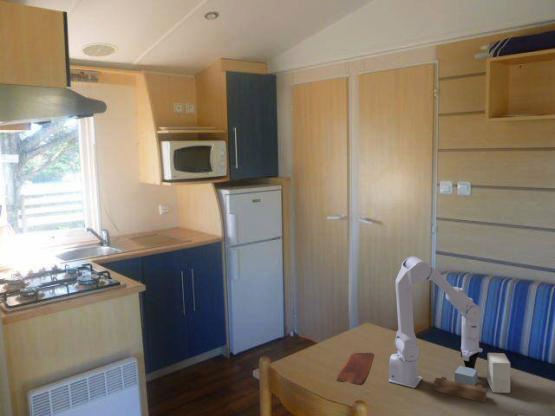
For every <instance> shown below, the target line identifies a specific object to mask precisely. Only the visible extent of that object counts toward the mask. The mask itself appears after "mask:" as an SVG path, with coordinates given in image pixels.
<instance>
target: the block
mask: <svg viewBox="0 0 555 416" xmlns="http://www.w3.org/2000/svg"><path fill="white" fill-rule="evenodd" d="M478 373H479V371H478V369H475V368H474V369H472V368H468V367H465V366H462V365H459V366H458V368H457V369H456V370H455V372H454V382H459V383H463V384H468V385H472V386H477V383H478V379H479V377H478Z"/></svg>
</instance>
